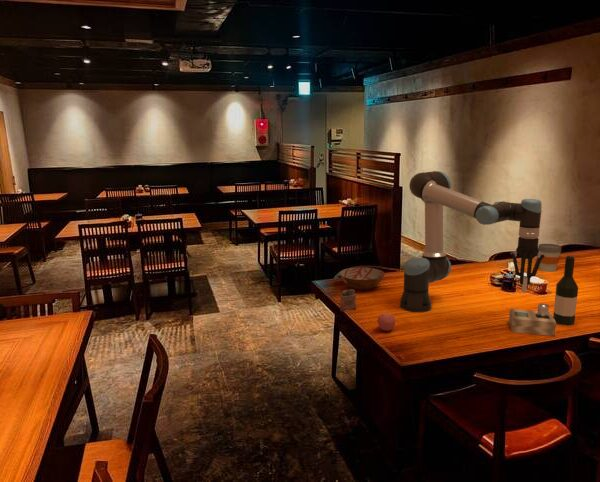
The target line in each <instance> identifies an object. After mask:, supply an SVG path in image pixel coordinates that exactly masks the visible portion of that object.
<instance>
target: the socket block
mask: <svg viewBox="0 0 600 482" xmlns="http://www.w3.org/2000/svg"><path fill="white" fill-rule="evenodd" d="M518 312H523V313H526V314H527V317H521V316H516V314H517V313H518ZM537 312H538V310H529V309H517V308H516V309H515V308H509V314H508V316H509V317H508V323H509V326H510V329H511V332H512V333H515V334H516V333H518V334H519V333H520V334H528V335H540V336H548V337H549V336H550V337H555V336H556V329H557V328H556V325H557V323H556V321H555V320H554V318H553V315H552V313H551V311H548V319H545V318H537Z"/></svg>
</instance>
